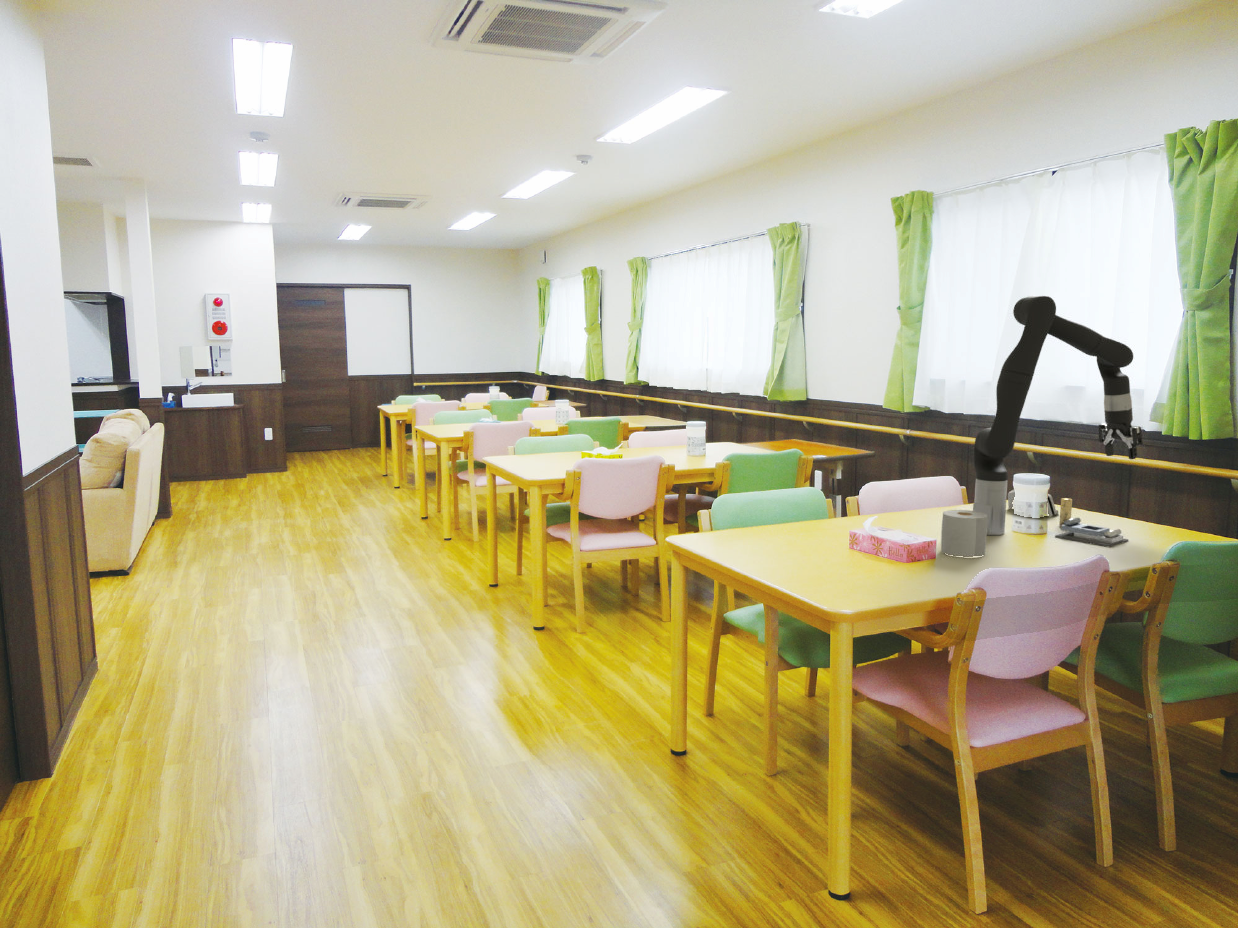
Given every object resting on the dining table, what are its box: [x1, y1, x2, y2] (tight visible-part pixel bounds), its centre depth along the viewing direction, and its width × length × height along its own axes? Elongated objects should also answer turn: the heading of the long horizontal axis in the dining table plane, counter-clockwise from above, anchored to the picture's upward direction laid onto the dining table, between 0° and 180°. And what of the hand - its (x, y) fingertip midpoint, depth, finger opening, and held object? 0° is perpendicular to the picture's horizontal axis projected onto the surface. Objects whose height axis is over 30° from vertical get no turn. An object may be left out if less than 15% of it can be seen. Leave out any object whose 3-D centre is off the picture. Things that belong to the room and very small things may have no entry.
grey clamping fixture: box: [1060, 516, 1124, 544], centre depth 251 cm, size 7×15×5 cm, turn 35°
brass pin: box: [1059, 497, 1073, 527], centre depth 269 cm, size 3×3×9 cm
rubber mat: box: [1054, 531, 1129, 548], centre depth 251 cm, size 12×16×1 cm
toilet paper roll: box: [940, 509, 988, 557], centre depth 236 cm, size 12×12×12 cm
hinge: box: [1007, 488, 1060, 518], centre depth 290 cm, size 17×5×10 cm, turn 28°
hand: (1121, 457), depth 262 cm, fingers open, 8 cm apart
